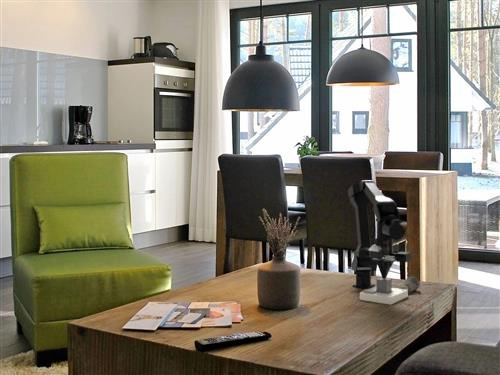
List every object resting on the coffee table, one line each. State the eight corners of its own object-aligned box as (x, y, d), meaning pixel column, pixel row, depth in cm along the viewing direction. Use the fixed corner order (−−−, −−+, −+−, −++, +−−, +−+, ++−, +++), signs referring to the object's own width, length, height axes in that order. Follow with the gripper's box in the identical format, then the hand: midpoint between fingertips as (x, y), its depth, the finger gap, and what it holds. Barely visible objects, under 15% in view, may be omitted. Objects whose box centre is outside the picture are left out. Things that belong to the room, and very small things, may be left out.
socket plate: (377, 292, 260) (377, 283, 260) (407, 296, 253) (407, 288, 253) (359, 299, 249) (359, 290, 249) (390, 304, 242) (390, 295, 242)
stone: (405, 297, 256) (422, 283, 256) (395, 286, 258) (412, 272, 257) (406, 298, 266) (422, 285, 265) (396, 287, 267) (412, 274, 267)
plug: (381, 296, 254) (381, 277, 253) (391, 298, 252) (391, 278, 251) (376, 298, 251) (376, 279, 250) (386, 300, 248) (386, 280, 248)
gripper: (350, 235, 248) (350, 279, 250) (399, 240, 237) (398, 286, 239) (365, 232, 257) (364, 274, 259) (412, 236, 246) (412, 280, 248)
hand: (384, 278), depth 251 cm, fingers closed
